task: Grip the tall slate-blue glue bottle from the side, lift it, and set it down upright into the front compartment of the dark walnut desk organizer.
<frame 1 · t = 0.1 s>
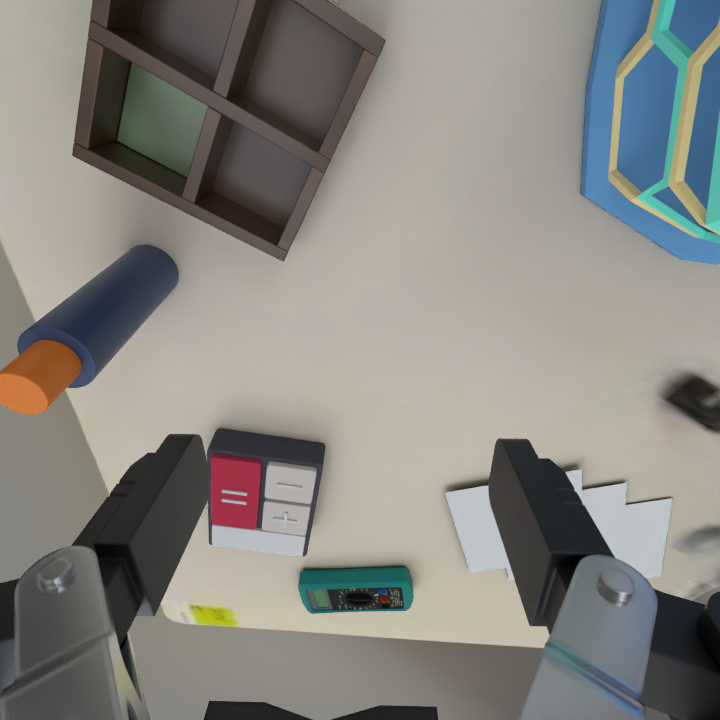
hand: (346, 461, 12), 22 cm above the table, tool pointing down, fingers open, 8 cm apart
bottle: (152, 270, 33), on the table
calculator: (268, 481, 47), on the table
organizer: (236, 97, 26), on the table
paper stack: (561, 534, 51), on the table
digital multimeter: (356, 578, 58), on the table
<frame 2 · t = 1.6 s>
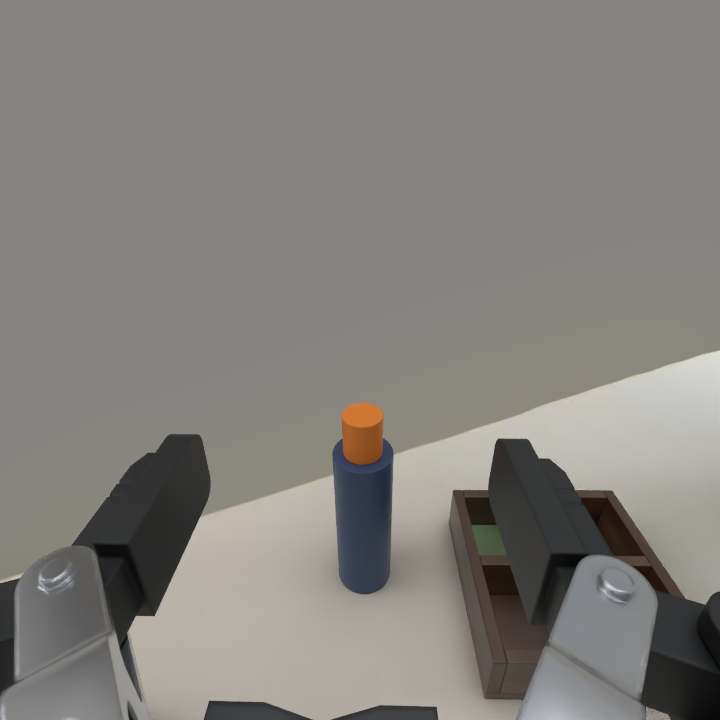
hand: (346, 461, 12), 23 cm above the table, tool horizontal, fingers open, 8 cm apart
bottle: (364, 569, 34), on the table
organizer: (552, 595, 32), on the table
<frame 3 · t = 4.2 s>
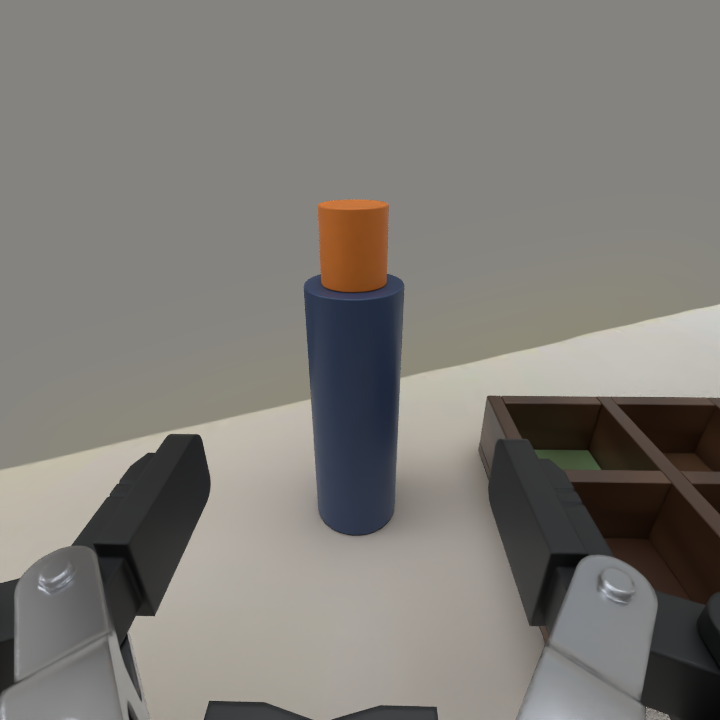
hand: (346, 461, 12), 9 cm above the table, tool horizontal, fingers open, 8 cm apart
bottle: (356, 504, 22), on the table
organizer: (648, 540, 20), on the table
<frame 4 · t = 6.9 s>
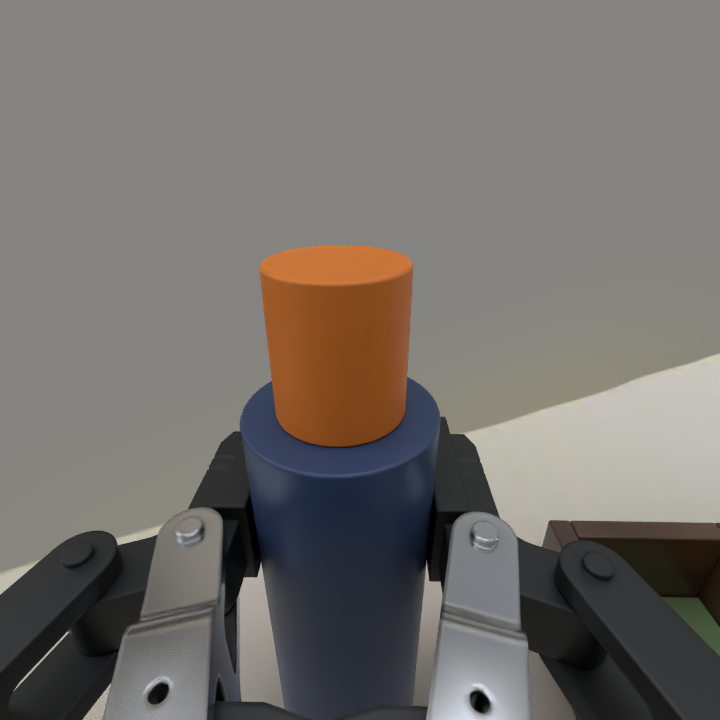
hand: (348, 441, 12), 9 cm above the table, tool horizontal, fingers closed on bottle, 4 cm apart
bottle: (349, 712, 14), on the table, touching gripper
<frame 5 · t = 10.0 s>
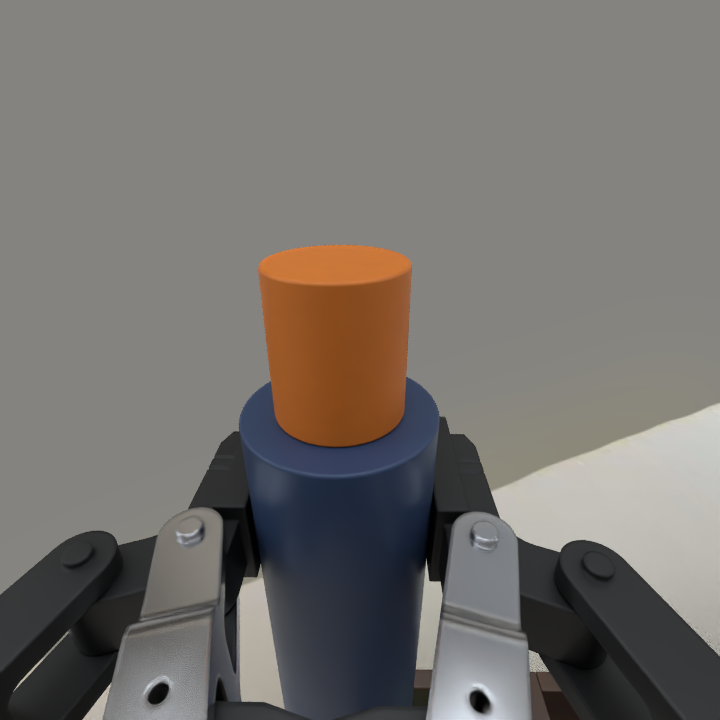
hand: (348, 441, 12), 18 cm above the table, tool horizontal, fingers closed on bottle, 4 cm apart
bottle: (349, 712, 14), point 9 cm above the table, touching gripper
when the fingers open (10 cm above the table, at t = 13.3 s): bottle stays where it is, resting on organizer.
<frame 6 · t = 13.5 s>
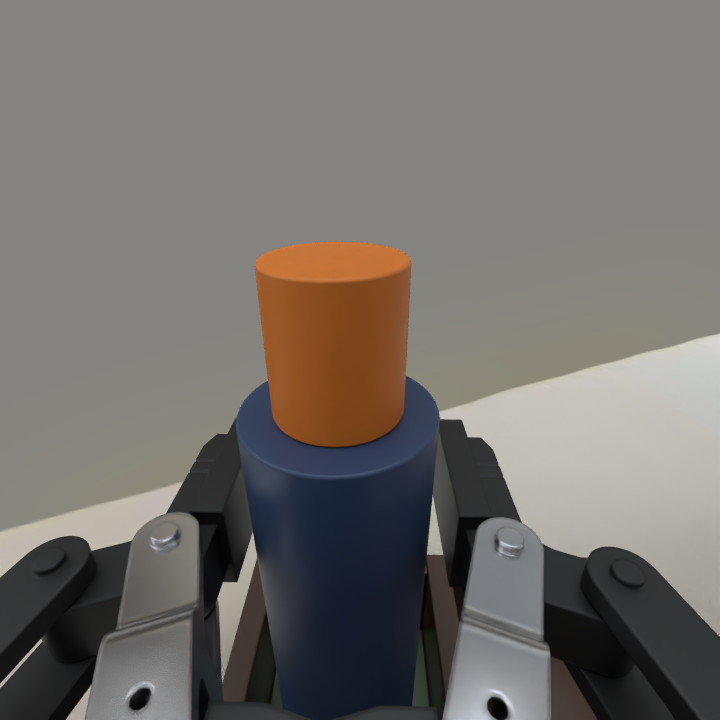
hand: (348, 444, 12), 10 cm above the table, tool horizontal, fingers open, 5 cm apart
bottle: (348, 714, 14), point 1 cm above the table, touching organizer
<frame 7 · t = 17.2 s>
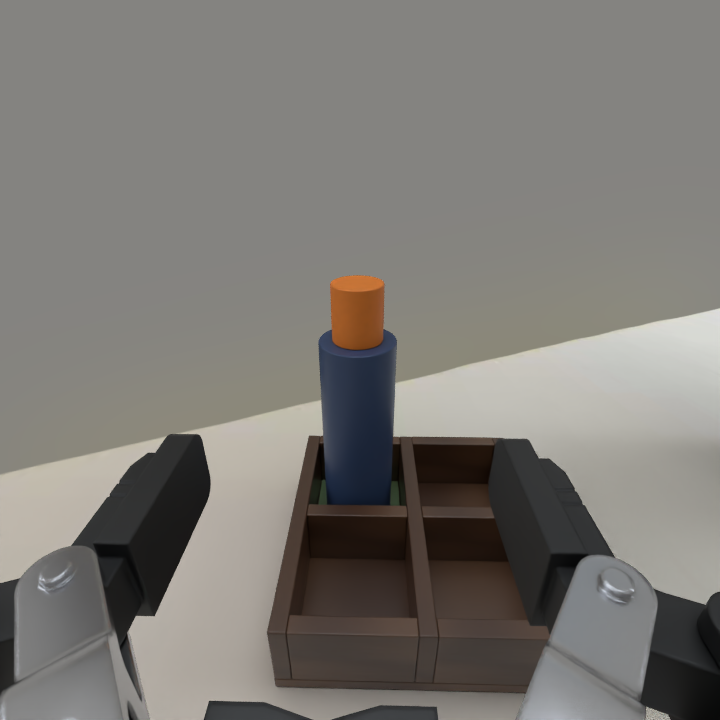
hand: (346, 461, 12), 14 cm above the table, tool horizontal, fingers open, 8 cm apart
bottle: (358, 511, 27), point 1 cm above the table, touching organizer
organizer: (410, 561, 25), on the table
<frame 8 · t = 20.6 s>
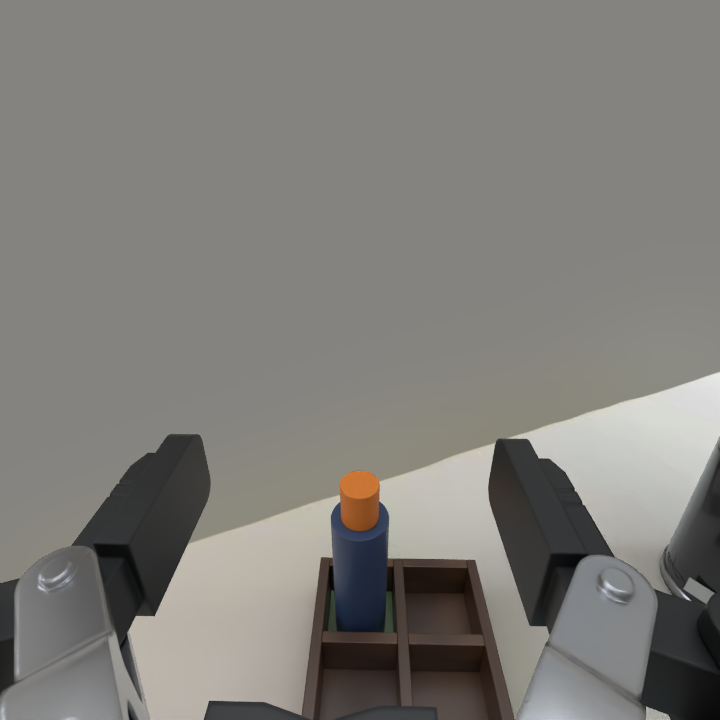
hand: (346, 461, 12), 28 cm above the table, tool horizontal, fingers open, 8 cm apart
bottle: (360, 622, 35), point 1 cm above the table, touching organizer
organizer: (400, 669, 32), on the table
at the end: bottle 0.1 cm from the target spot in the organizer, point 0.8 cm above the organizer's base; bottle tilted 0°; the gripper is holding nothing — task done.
